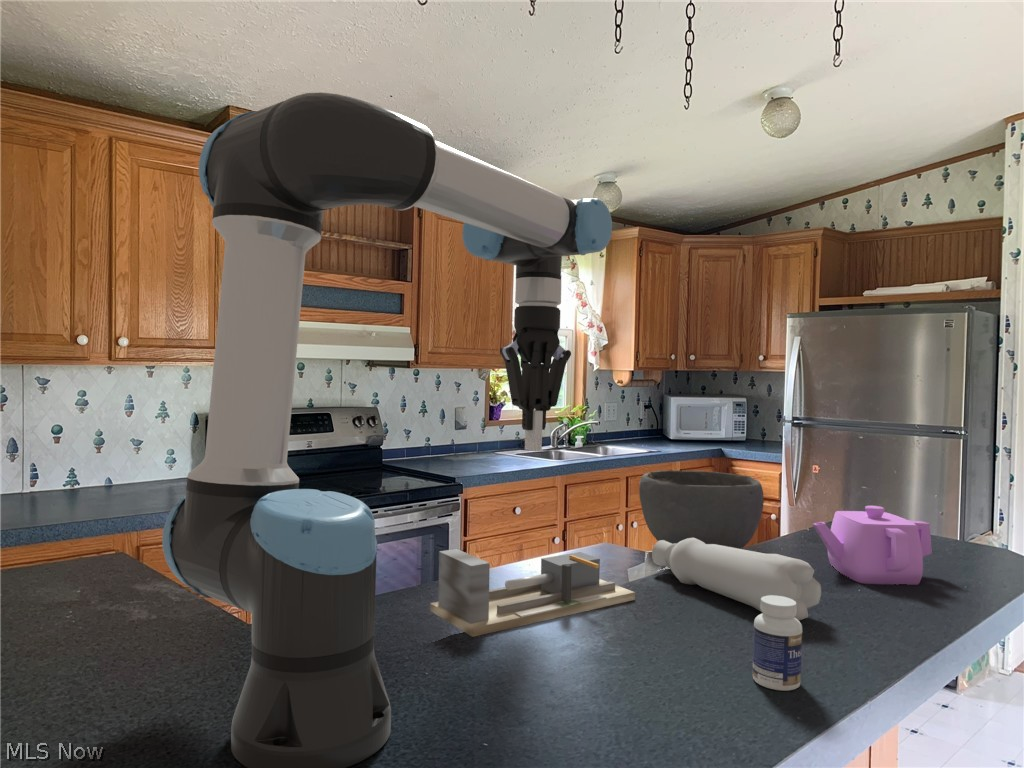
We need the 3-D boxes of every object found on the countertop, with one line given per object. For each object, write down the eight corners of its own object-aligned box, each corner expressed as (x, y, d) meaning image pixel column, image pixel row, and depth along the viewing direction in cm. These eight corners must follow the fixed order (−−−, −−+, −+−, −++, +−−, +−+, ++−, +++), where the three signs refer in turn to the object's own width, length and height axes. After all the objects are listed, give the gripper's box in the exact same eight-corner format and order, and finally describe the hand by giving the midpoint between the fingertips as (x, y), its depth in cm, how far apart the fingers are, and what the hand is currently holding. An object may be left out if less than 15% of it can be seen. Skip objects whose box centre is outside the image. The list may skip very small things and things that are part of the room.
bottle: (832, 595, 110) (686, 555, 136) (811, 548, 108) (666, 516, 133) (800, 638, 106) (655, 588, 132) (776, 591, 104) (634, 549, 129)
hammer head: (570, 601, 109) (571, 565, 109) (566, 602, 109) (567, 566, 109) (565, 599, 110) (566, 563, 110) (561, 600, 110) (562, 564, 110)
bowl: (654, 531, 165) (656, 464, 164) (769, 545, 154) (771, 473, 154) (621, 556, 143) (623, 479, 142) (752, 574, 132) (754, 491, 132)
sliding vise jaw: (616, 595, 114) (617, 561, 114) (532, 613, 105) (533, 576, 104) (579, 581, 121) (580, 548, 121) (498, 597, 112) (499, 562, 112)
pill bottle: (795, 696, 83) (798, 611, 83) (747, 684, 86) (749, 602, 86) (804, 679, 88) (807, 598, 88) (758, 669, 91) (760, 590, 90)
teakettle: (908, 594, 122) (910, 520, 122) (806, 572, 134) (808, 505, 134) (938, 575, 134) (940, 507, 134) (842, 556, 146) (844, 494, 146)
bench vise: (634, 599, 117) (636, 542, 116) (472, 636, 99) (474, 569, 99) (585, 580, 126) (586, 527, 126) (430, 611, 109) (431, 549, 109)
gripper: (555, 310, 128) (551, 446, 128) (491, 304, 120) (487, 448, 121) (583, 307, 121) (578, 451, 122) (517, 301, 114) (512, 453, 114)
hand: (533, 449), depth 121 cm, fingers closed
